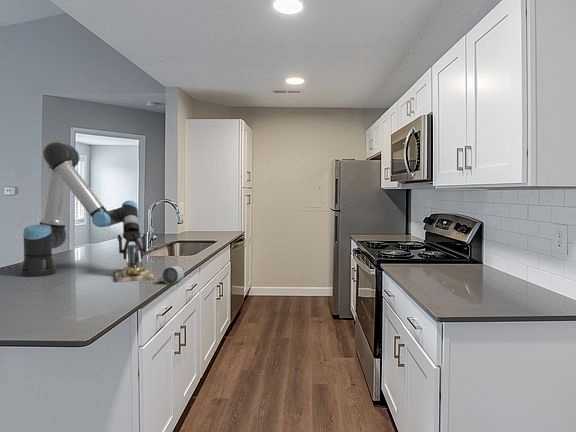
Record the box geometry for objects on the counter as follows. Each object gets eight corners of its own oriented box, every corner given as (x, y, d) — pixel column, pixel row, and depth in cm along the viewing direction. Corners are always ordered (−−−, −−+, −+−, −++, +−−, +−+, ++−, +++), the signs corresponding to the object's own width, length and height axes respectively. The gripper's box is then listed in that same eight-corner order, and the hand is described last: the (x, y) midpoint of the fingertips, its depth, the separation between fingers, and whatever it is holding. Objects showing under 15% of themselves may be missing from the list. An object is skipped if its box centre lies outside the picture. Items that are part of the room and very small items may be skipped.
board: (116, 282, 191) (116, 272, 190) (114, 272, 213) (114, 263, 213) (154, 279, 197) (154, 269, 197) (148, 270, 220) (148, 261, 220)
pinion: (128, 271, 204) (128, 246, 203) (127, 269, 208) (127, 244, 208) (138, 270, 206) (138, 245, 205) (138, 268, 210) (138, 244, 210)
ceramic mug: (185, 281, 195) (185, 264, 195) (178, 284, 187) (177, 267, 187) (163, 280, 196) (162, 263, 196) (155, 284, 188) (154, 266, 188)
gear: (123, 278, 192) (123, 267, 192) (122, 274, 202) (122, 264, 201) (147, 276, 196) (147, 266, 196) (145, 272, 206) (145, 263, 206)
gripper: (149, 230, 224) (152, 267, 210) (111, 231, 216) (113, 269, 202) (150, 221, 219) (154, 257, 204) (112, 221, 211) (113, 259, 197)
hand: (133, 263), depth 203 cm, fingers closed on pinion, 5 cm apart
